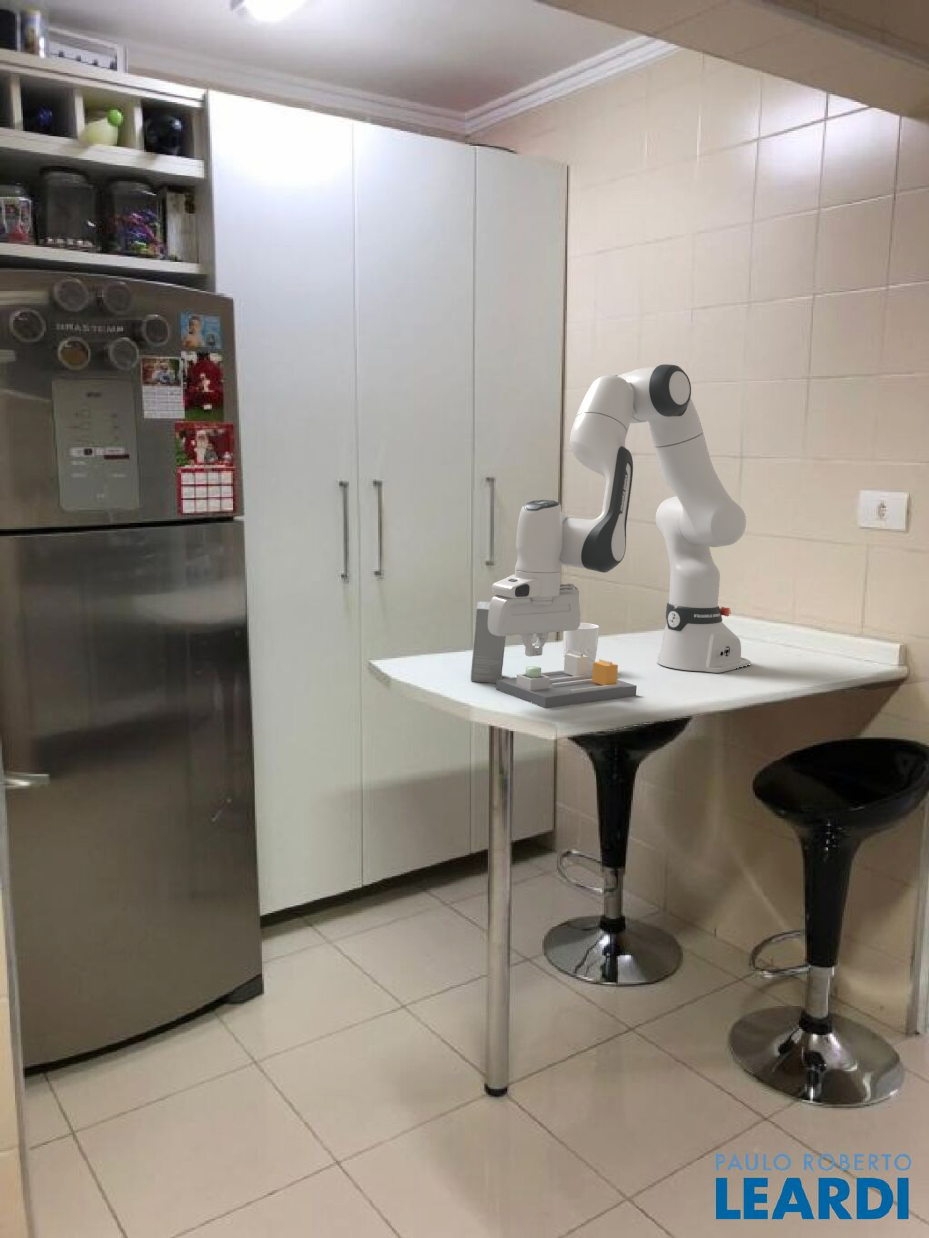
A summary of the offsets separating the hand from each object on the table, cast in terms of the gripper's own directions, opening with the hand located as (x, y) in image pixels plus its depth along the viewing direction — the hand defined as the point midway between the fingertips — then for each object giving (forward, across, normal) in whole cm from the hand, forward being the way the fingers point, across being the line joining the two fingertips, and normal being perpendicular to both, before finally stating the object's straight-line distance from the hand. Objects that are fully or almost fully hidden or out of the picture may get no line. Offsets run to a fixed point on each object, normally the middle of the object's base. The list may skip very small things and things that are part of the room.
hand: (533, 655), depth 195 cm
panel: (+8, -9, 0) cm, 12 cm away
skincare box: (+8, -1, -17) cm, 19 cm away
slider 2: (+6, -15, +5) cm, 17 cm away
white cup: (+8, -25, -16) cm, 31 cm away
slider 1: (+6, -15, -4) cm, 16 cm away
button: (+5, 0, 0) cm, 5 cm away
